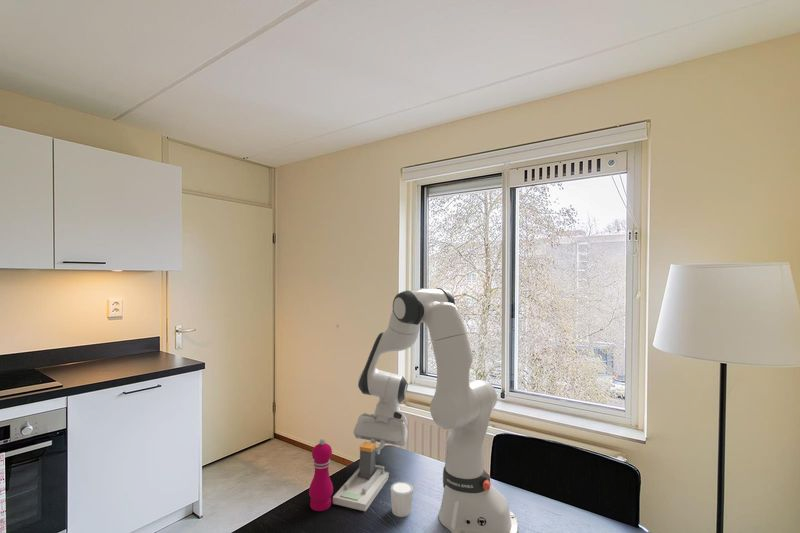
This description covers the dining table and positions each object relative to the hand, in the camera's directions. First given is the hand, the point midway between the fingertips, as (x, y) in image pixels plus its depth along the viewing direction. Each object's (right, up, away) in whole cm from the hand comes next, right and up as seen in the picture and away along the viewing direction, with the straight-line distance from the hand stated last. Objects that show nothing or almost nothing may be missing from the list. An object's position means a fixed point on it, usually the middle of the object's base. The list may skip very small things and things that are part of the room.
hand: (374, 453), depth 136 cm
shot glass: (+9, -7, -22) cm, 25 cm away
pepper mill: (-15, -6, -20) cm, 26 cm away
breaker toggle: (-2, -4, -6) cm, 8 cm away
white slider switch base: (-3, -7, -11) cm, 13 cm away
